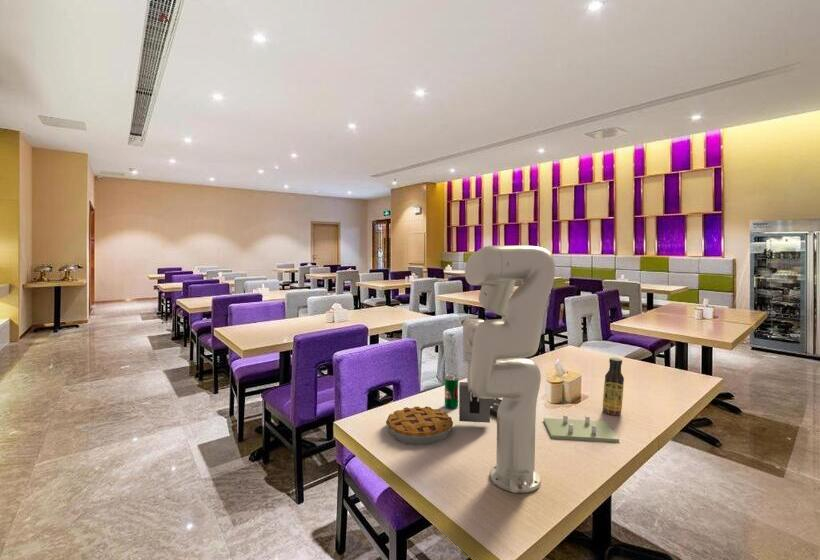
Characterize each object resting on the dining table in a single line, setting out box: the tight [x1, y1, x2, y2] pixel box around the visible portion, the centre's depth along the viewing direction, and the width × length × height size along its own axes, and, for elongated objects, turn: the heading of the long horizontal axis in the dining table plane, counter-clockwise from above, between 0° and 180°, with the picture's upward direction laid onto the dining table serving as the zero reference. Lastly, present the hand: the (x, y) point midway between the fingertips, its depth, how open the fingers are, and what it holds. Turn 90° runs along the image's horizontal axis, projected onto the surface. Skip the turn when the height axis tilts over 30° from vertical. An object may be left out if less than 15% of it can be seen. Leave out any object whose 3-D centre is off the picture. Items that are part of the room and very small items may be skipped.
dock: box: [543, 414, 620, 443], centre depth 131 cm, size 13×20×4 cm, turn 82°
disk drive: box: [490, 398, 502, 419], centre depth 147 cm, size 10×3×15 cm
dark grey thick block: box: [458, 381, 491, 423], centre depth 135 cm, size 4×10×12 cm, turn 82°
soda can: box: [444, 373, 459, 410], centre depth 151 cm, size 5×5×12 cm
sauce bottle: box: [602, 357, 625, 416], centre depth 145 cm, size 7×6×20 cm
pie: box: [385, 406, 454, 445], centre depth 132 cm, size 22×22×5 cm
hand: (474, 409), depth 135 cm, fingers closed on dark grey thick block, 4 cm apart
